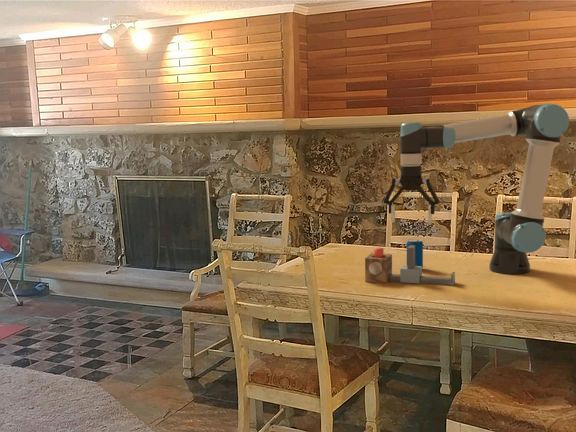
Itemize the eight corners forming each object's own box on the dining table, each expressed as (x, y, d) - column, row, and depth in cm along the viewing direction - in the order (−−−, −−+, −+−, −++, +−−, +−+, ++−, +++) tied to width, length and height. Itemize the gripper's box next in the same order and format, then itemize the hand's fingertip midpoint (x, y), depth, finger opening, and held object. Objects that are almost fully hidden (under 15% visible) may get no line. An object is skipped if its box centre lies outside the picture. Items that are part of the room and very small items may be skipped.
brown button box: (392, 276, 239) (391, 254, 237) (386, 283, 229) (385, 259, 228) (371, 275, 242) (371, 253, 240) (365, 281, 232) (364, 258, 231)
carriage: (422, 279, 232) (422, 245, 230) (419, 283, 227) (419, 248, 225) (403, 278, 235) (403, 244, 233) (400, 282, 229) (400, 247, 227)
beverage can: (422, 271, 246) (423, 241, 245) (406, 270, 248) (406, 241, 246) (422, 267, 253) (422, 238, 251) (406, 267, 254) (406, 238, 252)
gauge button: (384, 262, 236) (384, 247, 235) (382, 264, 232) (382, 249, 231) (375, 261, 237) (375, 247, 236) (373, 263, 234) (372, 249, 233)
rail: (454, 282, 227) (455, 272, 227) (453, 285, 223) (453, 275, 222) (390, 278, 236) (390, 268, 236) (387, 281, 232) (387, 271, 231)
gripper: (447, 164, 223) (447, 221, 226) (379, 164, 233) (380, 220, 236) (444, 165, 216) (444, 225, 220) (375, 166, 226) (375, 223, 229)
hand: (411, 222), depth 228 cm, fingers open, 13 cm apart
